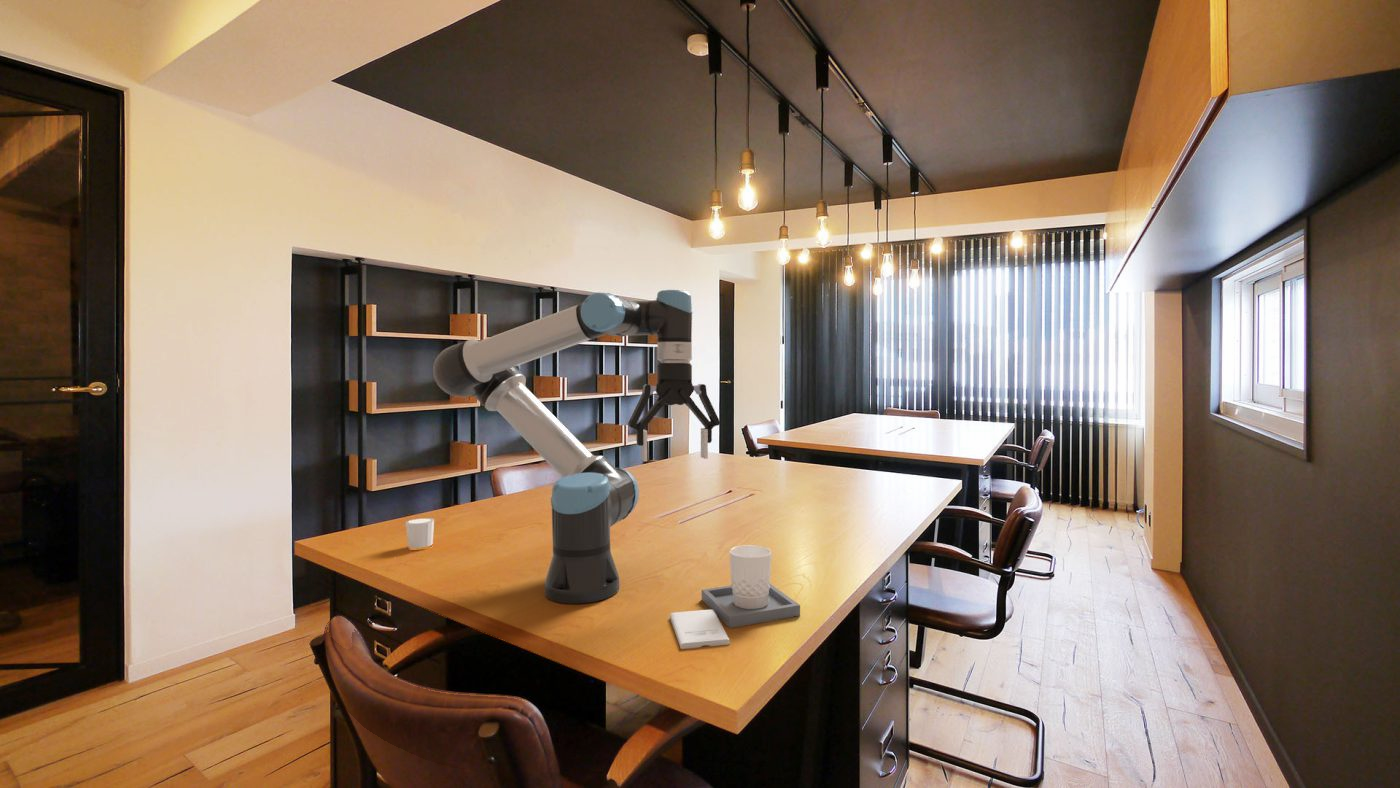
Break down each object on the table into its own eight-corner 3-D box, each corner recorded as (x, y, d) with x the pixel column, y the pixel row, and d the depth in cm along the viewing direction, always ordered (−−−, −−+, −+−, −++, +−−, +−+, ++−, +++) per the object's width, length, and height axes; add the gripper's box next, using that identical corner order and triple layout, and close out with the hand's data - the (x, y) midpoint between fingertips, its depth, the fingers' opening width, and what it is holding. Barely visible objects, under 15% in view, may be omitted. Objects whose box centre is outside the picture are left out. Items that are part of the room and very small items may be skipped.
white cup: (769, 612, 110) (769, 558, 110) (727, 609, 112) (726, 556, 111) (773, 596, 118) (772, 546, 118) (733, 594, 120) (732, 544, 119)
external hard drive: (713, 617, 112) (729, 647, 100) (670, 621, 110) (680, 652, 98) (713, 609, 112) (729, 638, 100) (670, 612, 110) (680, 642, 98)
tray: (729, 627, 106) (729, 616, 106) (701, 599, 119) (701, 589, 119) (800, 615, 111) (800, 605, 111) (765, 590, 124) (765, 580, 124)
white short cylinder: (400, 550, 154) (399, 523, 154) (417, 543, 161) (416, 517, 160) (424, 551, 153) (423, 524, 153) (440, 544, 160) (439, 517, 159)
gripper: (620, 361, 124) (621, 464, 125) (734, 362, 132) (734, 459, 133) (614, 362, 131) (615, 459, 132) (722, 362, 139) (722, 454, 140)
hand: (674, 459), depth 132 cm, fingers open, 13 cm apart
